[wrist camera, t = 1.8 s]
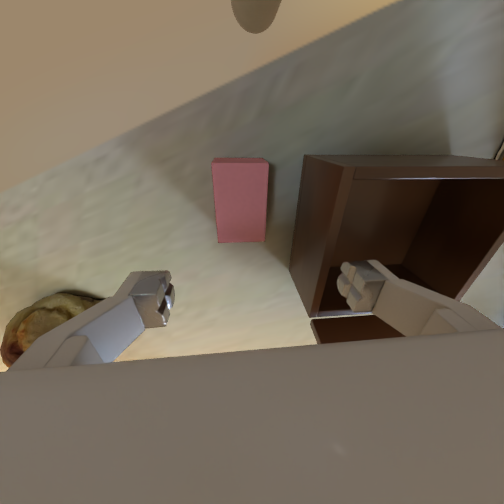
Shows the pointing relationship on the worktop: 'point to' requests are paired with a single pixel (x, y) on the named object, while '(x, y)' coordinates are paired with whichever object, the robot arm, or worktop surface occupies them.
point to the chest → (395, 222)
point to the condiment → (500, 153)
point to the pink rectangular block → (240, 198)
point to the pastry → (40, 322)
